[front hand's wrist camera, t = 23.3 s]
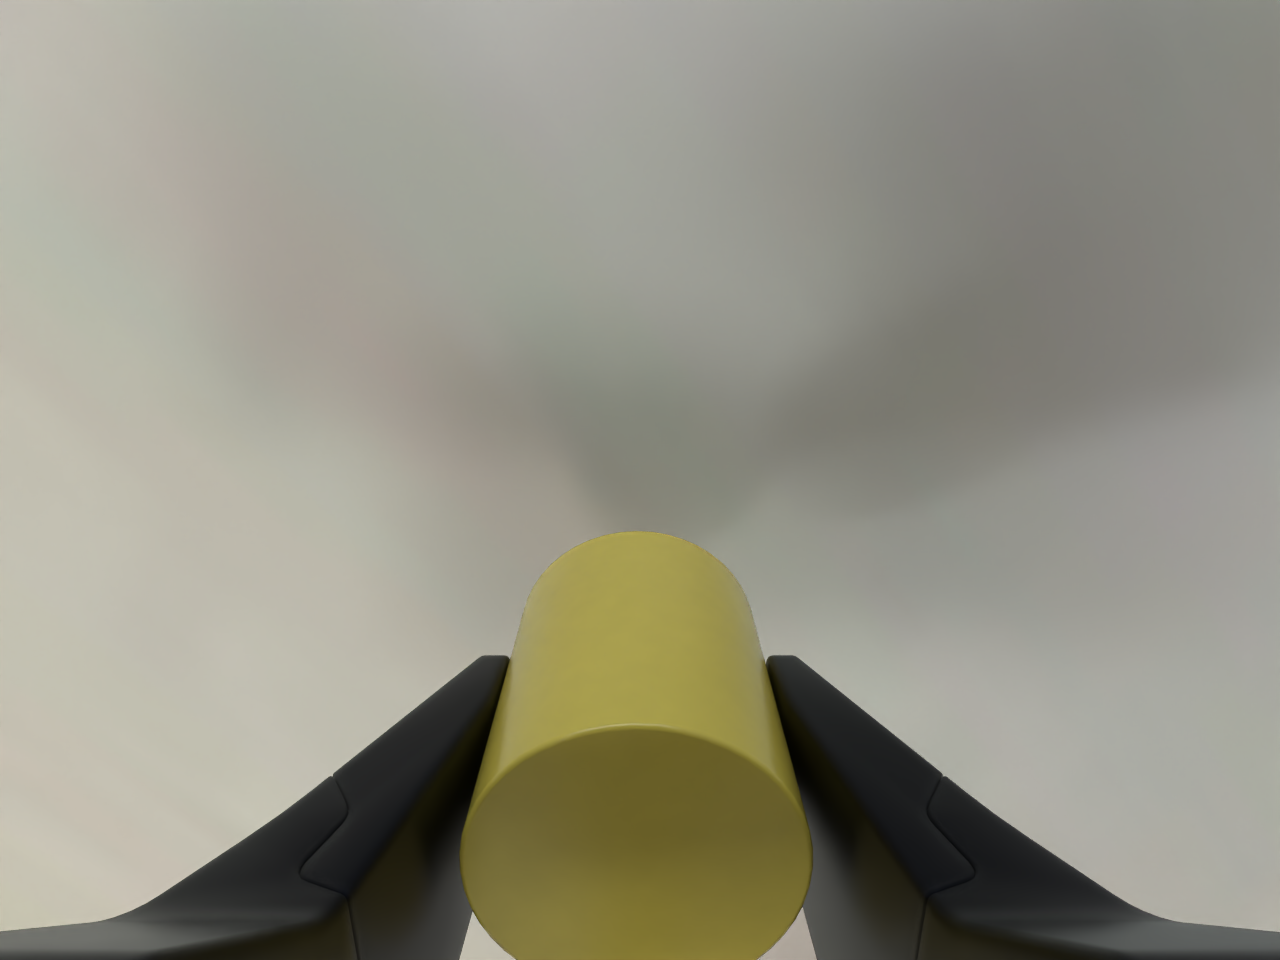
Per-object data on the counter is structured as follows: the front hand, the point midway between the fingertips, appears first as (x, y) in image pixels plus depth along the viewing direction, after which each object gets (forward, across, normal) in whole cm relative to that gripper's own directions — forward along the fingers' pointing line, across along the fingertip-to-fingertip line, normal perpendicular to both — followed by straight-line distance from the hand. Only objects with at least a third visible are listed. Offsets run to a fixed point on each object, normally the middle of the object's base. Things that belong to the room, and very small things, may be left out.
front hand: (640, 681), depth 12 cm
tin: (+1, 0, 0) cm, 1 cm away
